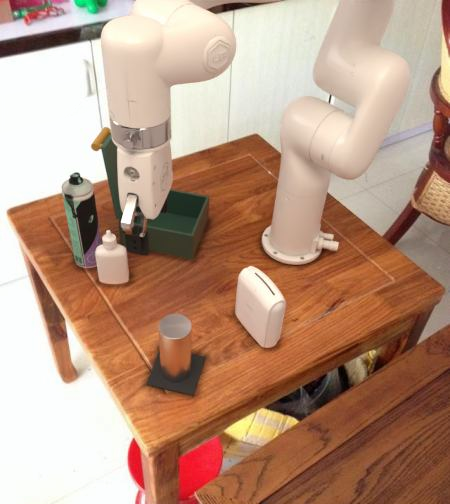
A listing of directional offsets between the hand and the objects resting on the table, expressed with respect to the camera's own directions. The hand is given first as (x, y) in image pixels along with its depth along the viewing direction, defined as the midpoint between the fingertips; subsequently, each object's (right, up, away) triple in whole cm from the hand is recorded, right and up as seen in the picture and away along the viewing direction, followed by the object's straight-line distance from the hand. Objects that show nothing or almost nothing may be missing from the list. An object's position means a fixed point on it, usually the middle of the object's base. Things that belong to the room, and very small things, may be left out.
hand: (148, 230), depth 82 cm
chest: (-1, +4, +35) cm, 35 cm away
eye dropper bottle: (-10, -6, +25) cm, 28 cm away
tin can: (+3, -22, +11) cm, 25 cm away
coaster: (+3, -22, +11) cm, 25 cm away
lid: (-8, +15, +25) cm, 30 cm away
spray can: (-15, -2, +28) cm, 32 cm away
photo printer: (+17, -15, +19) cm, 30 cm away
